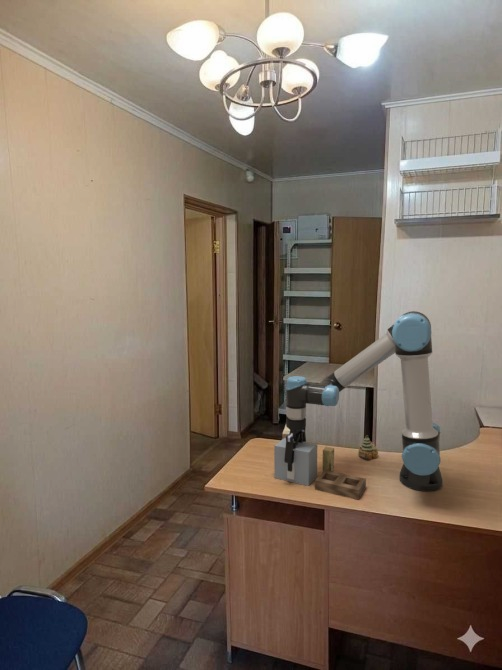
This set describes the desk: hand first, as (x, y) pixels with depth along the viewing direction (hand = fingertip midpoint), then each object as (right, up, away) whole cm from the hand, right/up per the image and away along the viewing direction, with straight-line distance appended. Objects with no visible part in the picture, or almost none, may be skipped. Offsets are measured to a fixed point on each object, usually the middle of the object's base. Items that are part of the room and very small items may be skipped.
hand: (295, 473), depth 168 cm
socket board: (+15, -3, -9) cm, 18 cm away
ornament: (+33, +1, +18) cm, 38 cm away
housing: (0, -2, 0) cm, 1 cm away
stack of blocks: (+1, +1, +25) cm, 25 cm away
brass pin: (+13, -1, +3) cm, 14 cm away
